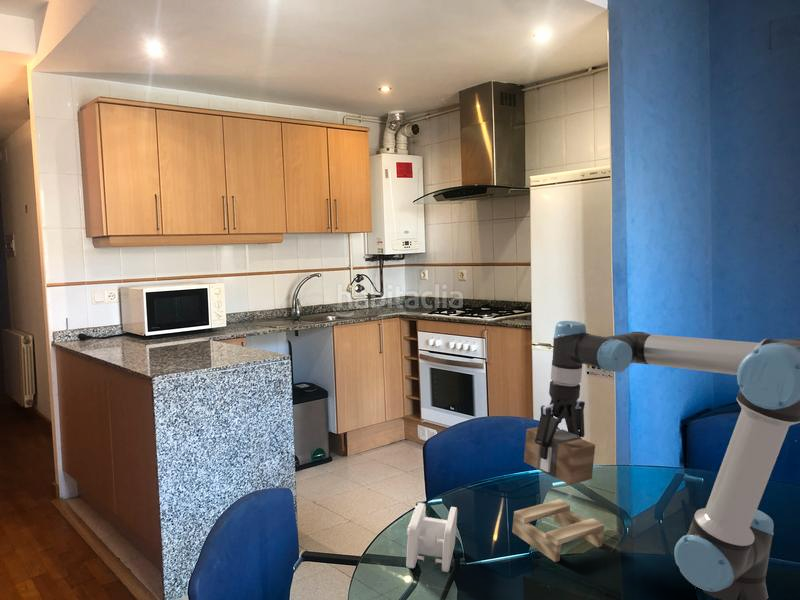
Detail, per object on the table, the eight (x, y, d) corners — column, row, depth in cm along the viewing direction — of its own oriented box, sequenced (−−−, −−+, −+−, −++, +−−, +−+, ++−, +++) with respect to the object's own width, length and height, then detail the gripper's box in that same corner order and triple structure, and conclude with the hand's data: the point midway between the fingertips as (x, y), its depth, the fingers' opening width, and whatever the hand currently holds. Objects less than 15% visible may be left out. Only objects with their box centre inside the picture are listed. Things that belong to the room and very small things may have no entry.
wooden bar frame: (601, 546, 169) (604, 524, 168) (555, 562, 160) (557, 539, 159) (557, 518, 182) (559, 499, 181) (512, 532, 173) (514, 511, 172)
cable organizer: (447, 580, 150) (451, 533, 148) (403, 572, 152) (406, 526, 150) (454, 547, 164) (458, 504, 162) (414, 540, 166) (417, 498, 164)
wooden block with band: (592, 478, 162) (595, 443, 161) (569, 485, 158) (572, 448, 156) (545, 456, 175) (548, 423, 174) (523, 461, 171) (526, 428, 169)
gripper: (582, 374, 172) (574, 454, 175) (524, 382, 160) (517, 469, 164) (604, 381, 166) (596, 464, 169) (546, 390, 154) (538, 480, 157)
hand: (557, 466), depth 166 cm, fingers closed on wooden block with band, 8 cm apart
